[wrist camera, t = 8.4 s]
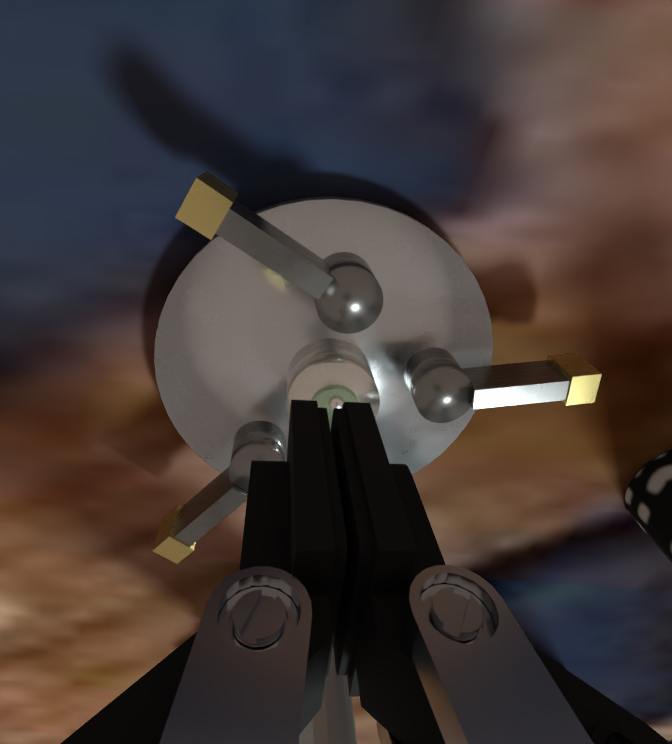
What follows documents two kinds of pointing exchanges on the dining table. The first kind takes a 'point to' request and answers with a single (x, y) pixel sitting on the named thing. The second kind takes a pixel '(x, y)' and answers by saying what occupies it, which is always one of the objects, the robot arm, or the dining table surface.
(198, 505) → the metal scoop
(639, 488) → the spotted tube
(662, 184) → the dining table surface
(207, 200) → the metal scoop
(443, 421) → the metal scoop
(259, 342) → the tribrach plate
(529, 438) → the dining table surface
